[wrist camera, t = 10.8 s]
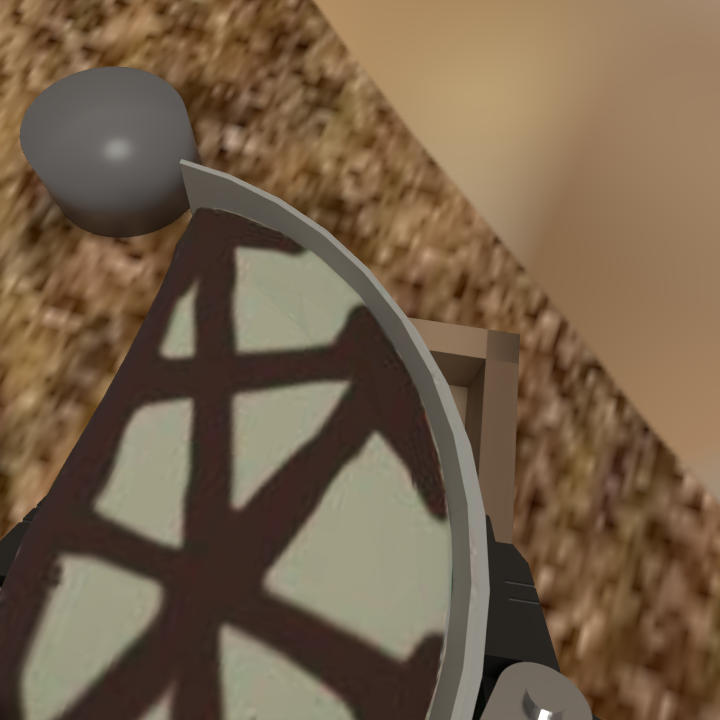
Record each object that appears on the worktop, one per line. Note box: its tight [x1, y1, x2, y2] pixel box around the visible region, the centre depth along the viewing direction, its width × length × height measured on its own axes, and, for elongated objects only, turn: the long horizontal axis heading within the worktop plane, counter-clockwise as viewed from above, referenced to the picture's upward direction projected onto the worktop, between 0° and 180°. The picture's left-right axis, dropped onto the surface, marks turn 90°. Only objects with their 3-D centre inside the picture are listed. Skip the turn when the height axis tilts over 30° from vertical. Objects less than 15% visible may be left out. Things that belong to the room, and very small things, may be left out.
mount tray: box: [407, 317, 520, 544], centre depth 16 cm, size 11×17×4 cm, turn 172°
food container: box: [0, 159, 490, 720], centre depth 11 cm, size 12×6×10 cm, turn 165°
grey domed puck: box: [20, 67, 202, 237], centre depth 22 cm, size 6×6×3 cm
